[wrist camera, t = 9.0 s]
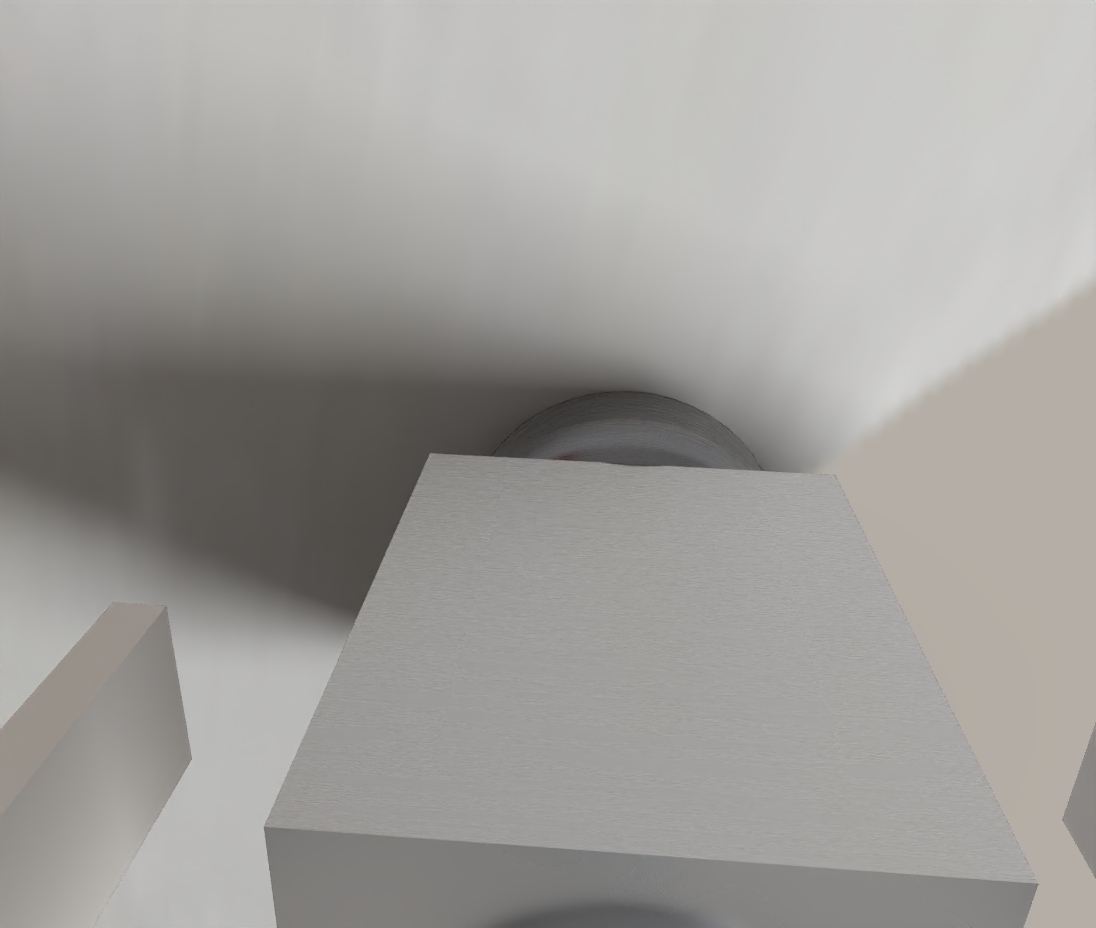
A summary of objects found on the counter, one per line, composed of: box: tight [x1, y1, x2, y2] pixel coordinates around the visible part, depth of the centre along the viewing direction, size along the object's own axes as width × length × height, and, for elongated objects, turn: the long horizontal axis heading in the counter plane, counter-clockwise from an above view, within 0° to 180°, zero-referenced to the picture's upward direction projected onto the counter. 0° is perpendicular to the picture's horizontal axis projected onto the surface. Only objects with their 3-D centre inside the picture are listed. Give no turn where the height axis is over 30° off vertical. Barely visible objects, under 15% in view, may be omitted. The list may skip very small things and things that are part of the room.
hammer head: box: [264, 453, 1038, 928], centre depth 12 cm, size 6×6×8 cm
